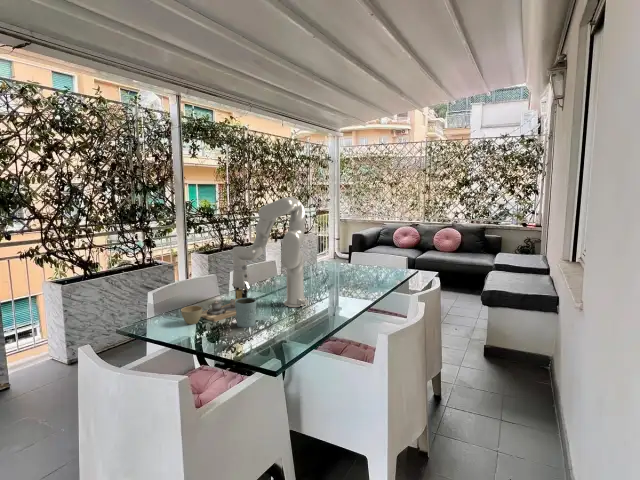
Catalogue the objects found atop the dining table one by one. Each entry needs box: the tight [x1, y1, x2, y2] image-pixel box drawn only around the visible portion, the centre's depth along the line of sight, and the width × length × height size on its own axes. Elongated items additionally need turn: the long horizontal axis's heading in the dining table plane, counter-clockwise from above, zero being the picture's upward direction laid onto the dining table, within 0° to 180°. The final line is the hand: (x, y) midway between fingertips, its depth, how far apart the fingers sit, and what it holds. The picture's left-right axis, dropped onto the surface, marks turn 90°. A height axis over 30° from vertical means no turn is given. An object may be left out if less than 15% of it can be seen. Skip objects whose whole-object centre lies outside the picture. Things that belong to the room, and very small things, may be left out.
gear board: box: [200, 298, 236, 322], centre depth 202 cm, size 15×25×7 cm, turn 140°
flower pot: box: [180, 305, 203, 325], centre depth 187 cm, size 10×10×7 cm
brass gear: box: [234, 288, 245, 302], centre depth 220 cm, size 10×10×7 cm
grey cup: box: [234, 297, 257, 329], centre depth 183 cm, size 10×10×12 cm
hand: (241, 298), depth 220 cm, fingers closed on brass gear, 5 cm apart
